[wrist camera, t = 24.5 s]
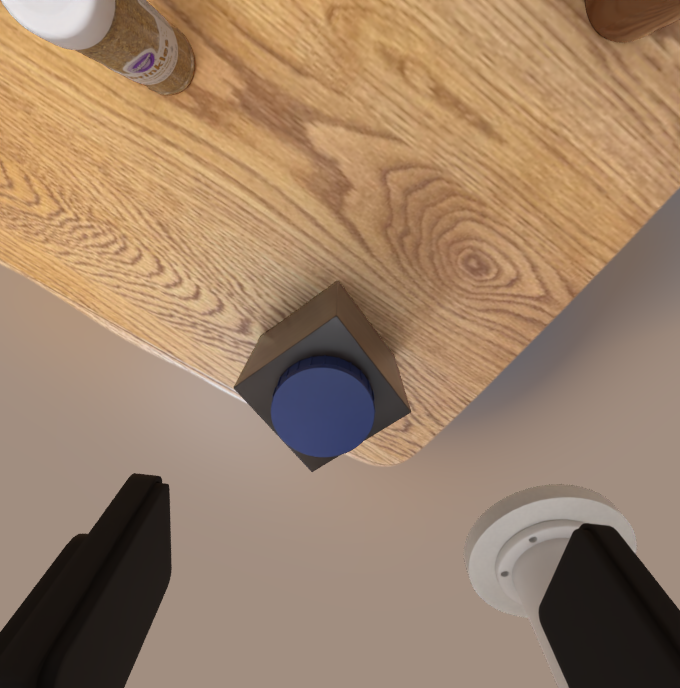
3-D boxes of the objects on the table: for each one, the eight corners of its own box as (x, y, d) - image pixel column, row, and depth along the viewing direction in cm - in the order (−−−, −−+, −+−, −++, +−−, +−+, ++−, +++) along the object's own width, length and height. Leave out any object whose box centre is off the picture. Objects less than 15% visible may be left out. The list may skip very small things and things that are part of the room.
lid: (253, 389, 29) (247, 403, 27) (335, 335, 27) (334, 346, 25) (313, 457, 31) (312, 474, 29) (392, 410, 29) (395, 425, 27)
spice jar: (173, 110, 31) (60, 63, 19) (121, 61, 30) (-37, -24, 17) (209, 57, 30) (113, -31, 17) (156, 5, 29) (12, -131, 16)
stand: (395, 356, 38) (411, 412, 29) (318, 405, 40) (311, 472, 31) (338, 280, 36) (336, 314, 26) (259, 336, 38) (232, 387, 28)
